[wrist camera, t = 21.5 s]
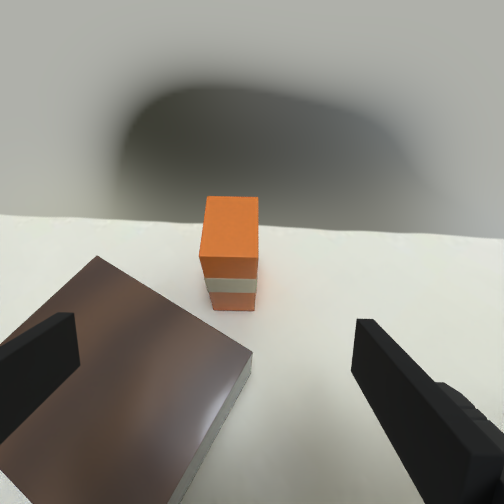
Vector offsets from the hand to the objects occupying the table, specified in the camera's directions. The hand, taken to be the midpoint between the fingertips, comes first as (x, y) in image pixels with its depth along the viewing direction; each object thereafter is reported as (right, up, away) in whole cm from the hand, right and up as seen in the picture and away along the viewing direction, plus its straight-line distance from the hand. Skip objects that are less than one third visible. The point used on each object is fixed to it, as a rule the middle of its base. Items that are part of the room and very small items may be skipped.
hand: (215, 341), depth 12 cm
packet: (-1, 0, +22) cm, 22 cm away
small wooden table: (-9, -10, +15) cm, 21 cm away
